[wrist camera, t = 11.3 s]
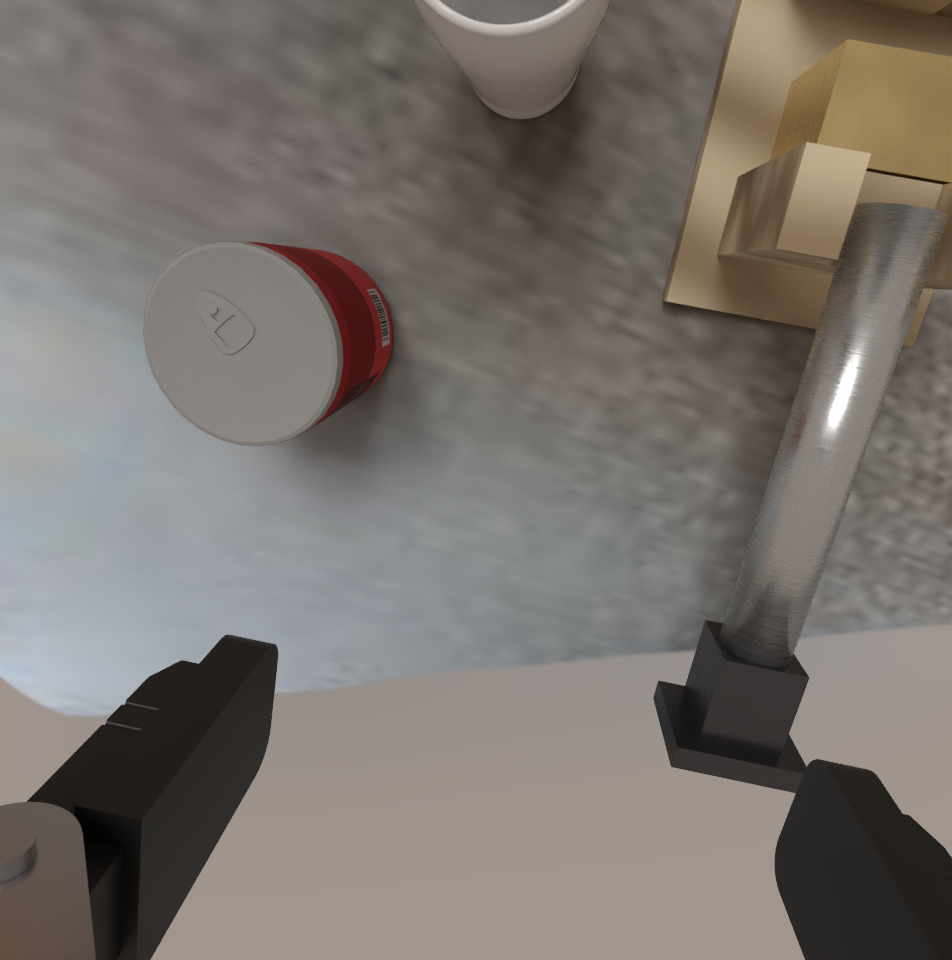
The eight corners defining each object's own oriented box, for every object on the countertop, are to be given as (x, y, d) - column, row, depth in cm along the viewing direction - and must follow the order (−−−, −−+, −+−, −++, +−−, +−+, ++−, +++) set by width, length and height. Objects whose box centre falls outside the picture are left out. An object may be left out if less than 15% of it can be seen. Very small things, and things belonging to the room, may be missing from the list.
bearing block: (754, -72, 30) (851, -231, 21) (1032, -27, 30) (1261, -167, 20) (662, 300, 35) (706, 310, 26) (900, 344, 35) (1036, 371, 25)
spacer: (791, 82, 31) (847, 39, 25) (927, 106, 31) (1015, 67, 25) (764, 178, 32) (812, 158, 26) (895, 202, 32) (972, 186, 26)
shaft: (798, 203, 27) (852, 188, 23) (941, 229, 27) (1026, 219, 22) (653, 698, 34) (671, 766, 29) (767, 721, 34) (803, 794, 29)
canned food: (300, 218, 36) (198, 195, 25) (426, 314, 36) (379, 329, 26) (227, 340, 38) (105, 366, 27) (347, 428, 39) (275, 485, 28)
